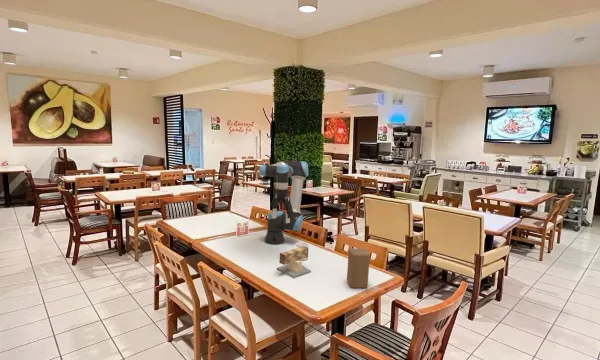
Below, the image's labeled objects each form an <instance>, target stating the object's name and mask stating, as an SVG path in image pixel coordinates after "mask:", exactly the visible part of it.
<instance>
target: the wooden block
mask: <svg viewBox="0 0 600 360" xmlns="http://www.w3.org/2000/svg"><path fill="white" fill-rule="evenodd" d="M347 257H348V258H347V273H346V281H347V283H348V285H349V287H350V289H367V288H368V286H369V285H368V284H369V270H370V258H371V254H370V253H369V252H368V250H367V249H366V248H357V247H356V248H355V247H354V248H353V247H352V248H351V247H350V248H349V249H348V255H347Z"/></svg>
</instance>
